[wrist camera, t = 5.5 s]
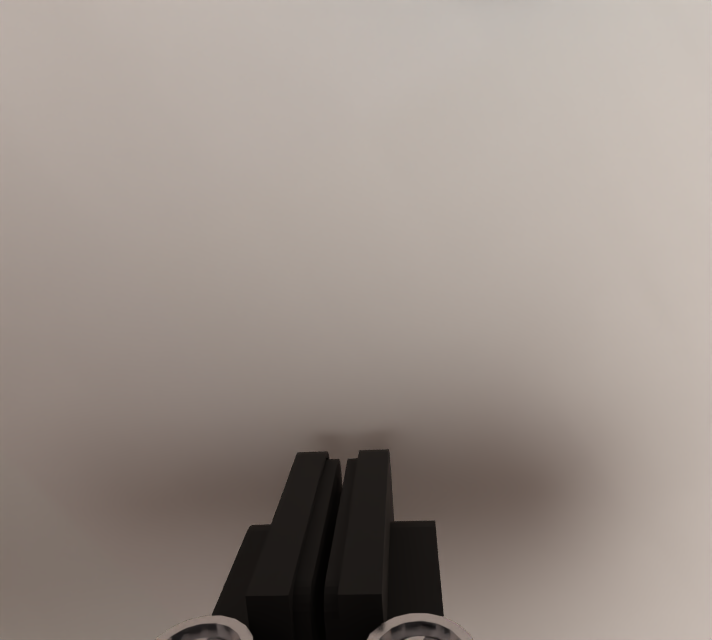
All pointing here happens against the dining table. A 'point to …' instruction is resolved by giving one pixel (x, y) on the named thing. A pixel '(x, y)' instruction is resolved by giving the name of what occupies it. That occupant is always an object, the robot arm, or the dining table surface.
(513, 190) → the dining table surface
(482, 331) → the dining table surface
